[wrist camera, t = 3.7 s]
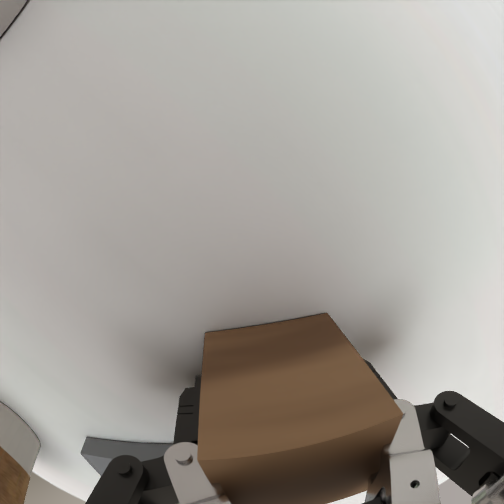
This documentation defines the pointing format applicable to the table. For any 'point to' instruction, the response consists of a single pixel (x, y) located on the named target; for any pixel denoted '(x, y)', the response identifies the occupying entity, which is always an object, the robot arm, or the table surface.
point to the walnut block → (290, 413)
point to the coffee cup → (15, 456)
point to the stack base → (118, 451)
